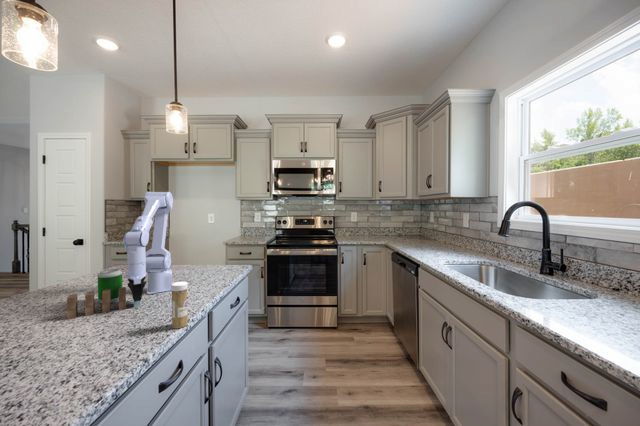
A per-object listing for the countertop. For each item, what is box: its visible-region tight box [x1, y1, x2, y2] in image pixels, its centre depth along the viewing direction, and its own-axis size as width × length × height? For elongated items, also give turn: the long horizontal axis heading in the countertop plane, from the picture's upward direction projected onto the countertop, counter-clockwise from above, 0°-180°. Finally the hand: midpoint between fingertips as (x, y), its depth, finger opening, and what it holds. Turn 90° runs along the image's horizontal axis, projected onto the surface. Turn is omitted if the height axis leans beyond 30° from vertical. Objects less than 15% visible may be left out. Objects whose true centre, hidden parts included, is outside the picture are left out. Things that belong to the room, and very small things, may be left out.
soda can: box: [97, 268, 123, 305], centre depth 102 cm, size 8×8×12 cm
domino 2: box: [84, 291, 96, 317], centre depth 91 cm, size 2×4×7 cm, turn 36°
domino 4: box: [118, 286, 127, 311], centre depth 96 cm, size 2×4×7 cm, turn 36°
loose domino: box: [133, 301, 141, 308], centre depth 98 cm, size 2×4×7 cm, turn 35°
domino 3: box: [102, 289, 112, 314], centre depth 93 cm, size 2×4×7 cm, turn 36°
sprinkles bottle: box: [171, 281, 189, 329], centre depth 81 cm, size 5×5×14 cm
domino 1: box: [66, 293, 79, 321], centre depth 88 cm, size 2×4×7 cm, turn 36°
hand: (137, 298), depth 99 cm, fingers open, 6 cm apart
